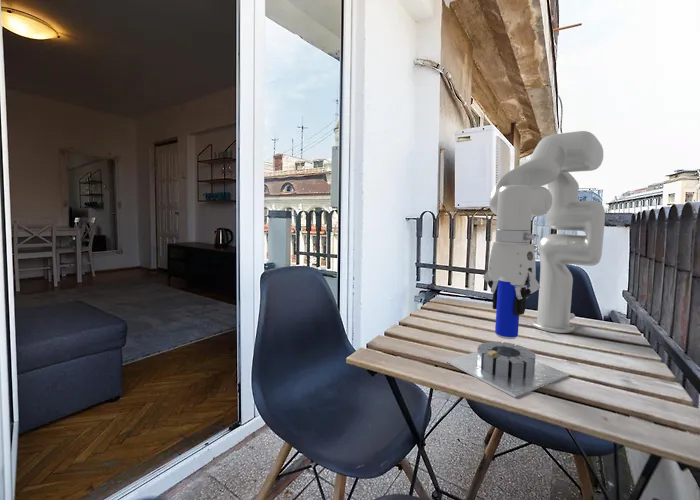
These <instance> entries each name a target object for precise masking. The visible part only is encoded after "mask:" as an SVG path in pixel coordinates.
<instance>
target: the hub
mask: <svg viewBox="0 0 700 500" xmlns="http://www.w3.org/2000/svg"><path fill="white" fill-rule="evenodd" d="M515 344H516V343H512V342H505V341H503V342H501V341H490V342H489V341H486V342H483V343H480V344H479V345H478V346H477V351H473V352H471V353H468V354H464V355H461V356H456V357H453V358H449V359H447V360H446V361H445V363H447V362H448V363H447V364H449V363H450V364H449V365H451V366H453V367H455V368H457V369H459V370H461V371H462V372H464V373H466V374H469V375H470V376H472V377H475V378H476V379H478V380H480V381H482V382H484V383H485V384H487V385H489V386H491V387H493V388H496V389H498V391H499V390H500V391H501V392H503V393H505V394H507V395H509V396H511V397H513V398H514V399H515V398H517V397H521V396H522V395H526V394H528V393H531V392H533V391H535V390H537V389H541V388H542V387H541V386H543V385H546V384H548V385H550V384H549V383H551V384H553V383H555V381H556V382H558V381H560V380H562V379H565V378H568V377H569V376H570V375H569V373H568V372H564V371H562V370H560V369H557V368H555V367H552V366H550V365H547V364H546V363H542V362H540V361H537V360H536V356H537V355H536V353H535V352H533V351H532V350H531V349H530V348H529V349H528V348H527V347H525V346H523V345H519V344H516V345H515ZM552 382H553V383H552ZM546 386H547V385H546ZM540 387H541V388H540ZM543 387H544V386H543Z"/></svg>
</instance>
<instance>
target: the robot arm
mask: <svg viewBox="0 0 700 500" xmlns="http://www.w3.org/2000/svg"><path fill="white" fill-rule="evenodd" d="M603 160H604V148H603V145H602V144H601V142H600V141H599V139H598V138H597V136H596V135H595V134H594V133H592V132H590V131H587V130H580V131H579V130H578V131H577V130H576V131H570V132H562V133H556V134H549V135H547V136H544V137H543V138H541V139H540V140H539V142H538V143H537V145H536V146H535V149H534V150H533V152H532V154H531V156H530V157H529V159H528V161H526V162H525V163H522V164H520V165H518V166H517V167H514V169H511V170H509V171H507V172H506V173H505V174H503V175H502V176H501V177H500V178H499V180H498V181H497V182H496V184H495V185H494V187H493V189H492V191H491V194H490V198H489V209H490V210H491V213H493V214H494V215H496V222H495V223H496V224H495V226H496V227H495V241H494V242H493V243H492V246H491V251H490V256H489V261H488V262H489V263H488V270H487V271H486V273H485V274H483V277H482V278H483V280H484V281H485V282H486V283H487V285H488V287H489V288H490V292H491V293H492V309H493V310H496V308H497V291H498V280H499V278H500V277H501V276H502V277H507V278H508V280H509V281H510V283H511V285H513V286H515V291H516V296H517V298H516V299H514V312H513V314H514V315H516V316H517V315H519V316H521V315H524V314H525V312H526V301H527V299H528V298H529V297H530V296H531V295H532V294H534V293H535V292H537V291H538V304H537V315H536V316H537V317H536V318H534V319H532V320H531V325H532V326H533V327H534V328H536V329H538V330H541V331H545V332H550V333H556V334H557V333H558V334H569V333H573V332H574V331H575V328H576V327H575V326H574V325H573V324H572V323H570V321H571V320H573V319H576V315H575V314H574V313H573V312H572V313H571V306H572V296H573V292H572V291H573V283H574V278H573V274H572V272H571V271H570V269H569V268H568V266H567V265H574V266H575V265H576V266H586V267H587V266H588V267H593V266H597V265H598V264H599V263H600V261H601V259H602V254H603V245H604V234H605V219H606V211H605V207H604V205H603V204H602V203H601V202H599V201H595V200H579V190H580V189H579V188H580V186H579V183H578V182H577V179H575V177H574V175H572V174H571V173H574V172H575V173H577V172H588V171H595V170H597V169H598V168H600V167H601V165H602V163H603ZM546 185H547V188H546V187H545V186H546ZM544 215H546V225H547V226H548V228H549V229H552V230H557V231H575V232H576V231H577V232H578V231H579V232H584V233H585V235H582V234H581V235H580V234H568V233H567V234H565V233H551V234H546V235H544V236H543V237H541V239H540V241H539V244H538V253H539V261H540V263H539V264H540V266H539V267H540V269H539V270H540V271H539V282H538V280H537V278H536V276H537V275H536V271H537V270H536V252H535V248H534V244H532V243H531V240H532V241H533V240H535V238H536V236H535V234H534V233H532V232H531V228H532V218H533V217H542V216H544ZM530 243H531V244H530ZM528 286H529V287H528Z"/></svg>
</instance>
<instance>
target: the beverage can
mask: <svg viewBox="0 0 700 500" xmlns="http://www.w3.org/2000/svg"><path fill="white" fill-rule="evenodd" d="M516 298H517V296H516V291H515V286H513V285H511V283H510V281H509V280H508V278H507V277H502V276H501V277H500V278H499V280H498V291H497V308H496V309H495V310H496V311H495V327H494V329H495V330H494V333H495V335H496V336H497V337H499V338H501V339H504V340H505V339H506V340H515V339H516V338H517V337H518V336H519V324H520V315H517V316H516V315H514V314H513V312H514V299H516Z"/></svg>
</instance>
